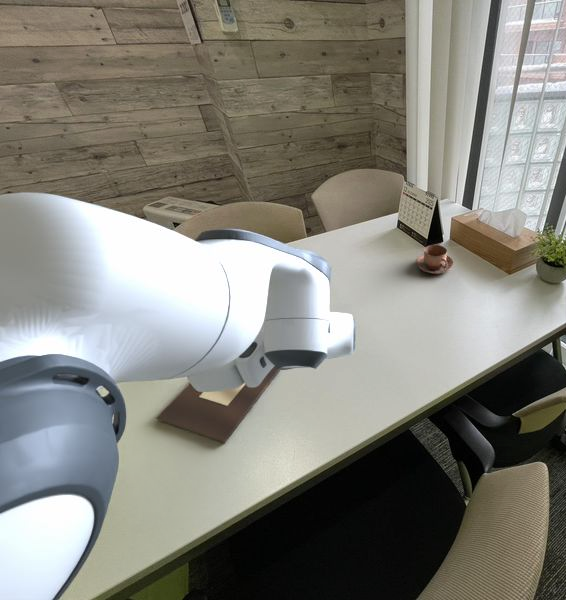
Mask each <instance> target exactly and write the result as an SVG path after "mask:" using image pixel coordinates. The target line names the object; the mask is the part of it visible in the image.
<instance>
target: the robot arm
mask: <svg viewBox="0 0 566 600" xmlns="http://www.w3.org/2000/svg"><path fill="white" fill-rule="evenodd" d="M331 278H332V266H331V265H330V264H329V263H328V261H327V260H326V259H325V258H324V257H323V256H322V255H321V254H320V253H317V252H315V251H310V250H306V249H300V248H296V247H295V246H291V245H289V244H287V243H284V242H281V241H279V240H276V239H273V238H272V237H269V236H265V235H264V234H260V233H257V232H254V231H250V230H245V229H238V228H217V229H208V230H204V231H201V233H200V234H199V235H198V236H197V237H196V238H195V239H192V238H190V237H188V236H187V235H184V234H181V233H179V232H177V231H175V230H172V229H170V228H168V227H164V226H163V225H160V224H157V223H155V222H152V221H149V220H147V219H143V218H140V217H138V216H135V215H131V214H128V213H125V212H121V211H118V210H115V209H111V208H109V207H105V206H102V205H98V204H94V203H91V202H88V201H87V202H86V201H82V200H78V199H75V198H71V197H66V196H62V195H57V194H53V193H52V194H51V193H44V192H12V193H4V194H0V600H60V599H61V597H62V596H63V595H64V594H65V592H66V591H67V590H68V588H69V587H70V586H71V584H72V583H73V581H75V578H76V577H77V576H78V574H79V572H80V571H81V569H82V568H83V566H84V565H85V563H86V561H87V560H88V559H89V557H90V554H91V553H92V551H93V549H94V547H95V545H96V543H97V540H98V539H99V536H100V534H101V531H102V528H103V524H104V522H105V518H106V516H107V513H108V509H109V505H110V501H111V499H112V495H113V491H114V488H115V483H116V479H117V476H118V472H119V464H120V454H119V448H118V443H119V442H120V440H121V439H122V437H123V435H124V433H125V430H126V425H127V407H126V406H127V405H126V402H125V398H124V396H123V394H122V392H121V390H120V388H119V386H118V385H117V384H123V383H136V382H138V383H139V382H151V381H163V380H164V381H165V380H174V379H179V378H181V379H182V378H187V380H188V382H189V384H190V383H191V385H192V386H193V387H194V388H195V389H196V390H197V391H199V392H216V391H226V390H232V389H236V388H238V387H240V386H242V385H243V384H244V383H245V384H246V385H247V387H257V386H259V385H260V383H261V382H262V381H263V379H264V378H265V377H266V375H267V374H268V373H269V372H270V370H271V369H272V368H273V367H274V366H276V367H277V368H278V369H280V371H287V370H293V369H300V368H302V369H304V368H305V369H306V368H311V369H314V370H316V369H317V368H319V366H320V365H321V364H322V363H323V362H324V361H325V360H334V359H338V358H344V357H349V356H351V355H353V353H354V351H355V349H356V321H355V318H354V316H353V314H350V313H346V312H337V311H330V286H331ZM101 389H105V390H106V391H107V392H108V393H107V394H106V395H105V396H102V395H101V393H100V392H99V391H100V390H101Z"/></svg>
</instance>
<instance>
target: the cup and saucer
mask: <svg viewBox="0 0 566 600" xmlns="http://www.w3.org/2000/svg"><path fill="white" fill-rule="evenodd" d="M416 265H417V267H418V268H419V269H420V270H422V271H423V272H424V273H425V272H426V273H428V274H437V275H438V274H443V273H446V272H449V270H451V269H452V268H453V267H454V261H453V259H452V257H450V256H449V255H448V250H447V248H446V247H445V246H443V245H441V244H440V245H439V244H430V245H427V246H426V247H425V248H424V249H423V254H420V255H419V256H418V257H417V259H416Z"/></svg>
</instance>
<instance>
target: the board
mask: <svg viewBox="0 0 566 600" xmlns="http://www.w3.org/2000/svg"><path fill="white" fill-rule="evenodd" d="M280 371H281V370H280V369H278V368H277V367H276V366H274V367H273V368H272V369H271V370H270V372H269V373H268V374H267V375H266V377H265V378H264V379H263V381H262V382H261V383H260V385H259V386H257V387H247V385H246V384H245V383H244V384H243V385H242V386H240V387H238V388H236V389H232V390H226V391H216V392H199V391H197V390H196V389H195V388H194V387H193V386H192V385H191V383H190V382H189V384H188V385H187V386H186V387H185V388H184V389H183V390H182V391H181V392H180V393H179V394H178V395H177V396H176V397H175V398H174V399H173V400H172V401H171V402H170V403H169V404H168V405H167V406H166V407H165V408H164V409H163V410H162V411H161V413H159V414H158V415H157V416H156V417H155V420H156V421H158V422H161V423H164V424H166V425H169V426H172V427H175V428H177V429H181V430H184V431H187V432H189V433H191V434H195V435H198V436H201V437H204V438H206V439H209V440H212V441H214V442H218V443H220V444H224V445H225V444H226V443H227V441H228V440H229V438H230V437H231V436H232V435H233V434H234V432H235V431H236V430H237V428H238V427H239V425H241V422H242V421H243V420H244V419H245V418H246V416H248V413H249V412H250V411H251V410H252V408H253V407H254V406H255V404H256V403H257V402H258V400H259V399H260V398H261V397H262V395H263V394H264V393H265V391H266V390H267V389H268V388H269V386H270V384H271V383H272V382H273V380H274V379H275V378H276V376H277V375H278V374H279V373H280Z"/></svg>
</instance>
